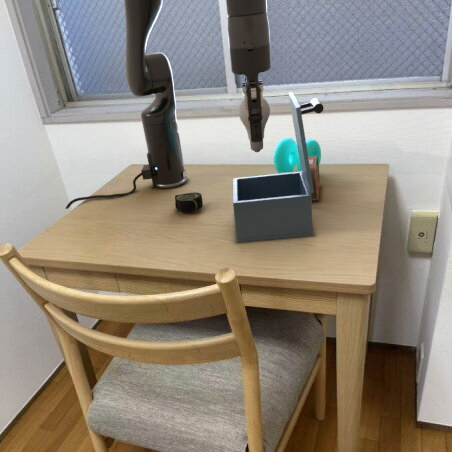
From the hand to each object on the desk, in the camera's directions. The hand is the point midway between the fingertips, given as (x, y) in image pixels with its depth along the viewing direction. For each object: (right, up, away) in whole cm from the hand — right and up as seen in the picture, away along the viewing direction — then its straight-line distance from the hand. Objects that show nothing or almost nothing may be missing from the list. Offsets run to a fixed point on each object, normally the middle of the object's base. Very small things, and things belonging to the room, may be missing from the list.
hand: (256, 136), depth 96 cm
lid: (+9, -1, 0) cm, 9 cm away
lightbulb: (0, -3, +2) cm, 3 cm away
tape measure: (-15, -10, +23) cm, 30 cm away
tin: (+16, -7, +23) cm, 28 cm away
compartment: (+4, -16, +10) cm, 20 cm away
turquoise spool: (+14, +1, +34) cm, 37 cm away
